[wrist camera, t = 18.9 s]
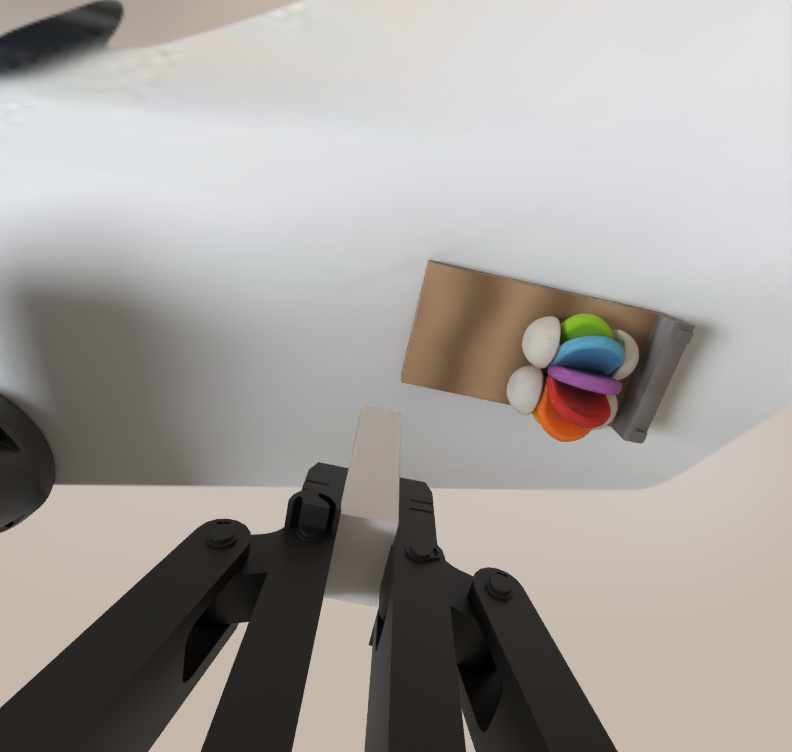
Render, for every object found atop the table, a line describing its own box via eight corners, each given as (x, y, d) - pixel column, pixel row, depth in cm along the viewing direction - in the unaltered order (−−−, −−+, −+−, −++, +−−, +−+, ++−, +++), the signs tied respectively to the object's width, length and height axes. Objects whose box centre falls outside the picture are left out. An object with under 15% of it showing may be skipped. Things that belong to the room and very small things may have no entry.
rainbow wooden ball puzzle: (495, 406, 39) (513, 448, 33) (531, 296, 36) (560, 317, 29) (589, 427, 40) (627, 473, 33) (634, 320, 37) (686, 346, 30)
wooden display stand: (401, 373, 41) (400, 396, 36) (428, 259, 37) (431, 267, 32) (617, 419, 42) (645, 447, 37) (662, 313, 38) (700, 328, 34)
